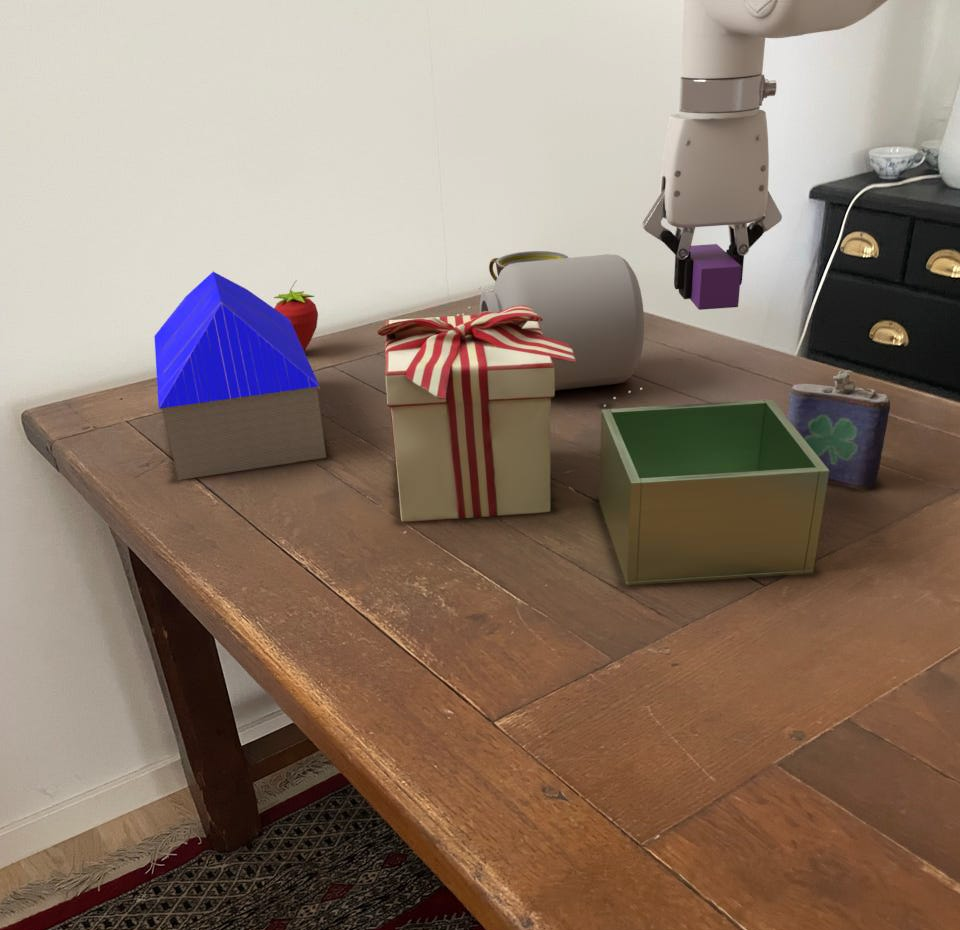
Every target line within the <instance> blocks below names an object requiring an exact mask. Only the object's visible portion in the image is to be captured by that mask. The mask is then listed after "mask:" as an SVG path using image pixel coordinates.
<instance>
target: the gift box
mask: <svg viewBox="0 0 960 930" xmlns="http://www.w3.org/2000/svg"><path fill="white" fill-rule="evenodd" d="M542 320H543V319H542V318H541V317H540V316H539V315H538V314H537V313H535V312H534V311H533V310H532V309H531V308H530V307H528V306H525V305H519V306H513V307H510V308H507V309H505V310H503V311H500V312H497V313H493V312H488V311H487V312H482V313H480V312H479V314H467V315H465V314H464V316H462V315H460V316H457V315H450V316H449V315H448V316H435V317H434V316H431V317H417V318H403V319H401V318H400V319H389V320H386V322H385V325H384V326H382V327H381V328H380V329H378V330H377V332H376V333H377V335H379V336H381V337H385V343H384V360H385V377H384V378H385V393H386V403H387V405H386V406H387V407H389V412H390V420H391V431H392V439H393V449H394V451H393V452H394V459H395V466H396V476H397V478H396V479H397V486H398V487H397V488H398V498H399V510H400V511H399V512H400V521H401V522H402V523H415V522H429V521H440V520H441V521H442V520H443V521H444V520H457V519H458V520H463V519H465V520H466V519H472V518H488V517H498V516H512V515H525V514H526V515H527V514H539V513H547V512H551V412H552V409H551V408H552V407H551V402H552V401H551V400H552V398H555V396H556V395H555V394H556V393H555V392H556V390H555V374H554V363H553V359H558V360H565V361H571V362H576V359H575V357H574V355H573V351H572V348H571V346H570V345H569V344H566V343H563V342H560V341H557V340H554V339H551V338H547V337H544V336H543V333H542V331H541V329H540V326H539V323H538V322H541V321H542Z"/></svg>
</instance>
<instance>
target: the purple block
mask: <svg viewBox="0 0 960 930" xmlns="http://www.w3.org/2000/svg"><path fill="white" fill-rule="evenodd" d="M690 252H691V256H690V257H691V258H692V259H693V276H692V293H691V298H690V299H689V300H690V301H691V302H692V304H693V305H694V306H695V308H697V310H698V311H702V310H703V311H704V310H716V309H732V308H733V309H734V308H738V307H739V302H740V291H741V285H740V279H741V265H739V264H738V263H737V262H736V261H735V260H734V259H733V258H732V257H730V256H729V255H728V254H727V253H726V250H724V249H723V248H722V247H721V246H719V245H718V243H713V244H712V243H710V244H698V245H695V244H694V245H691V247H690Z"/></svg>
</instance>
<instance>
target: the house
mask: <svg viewBox="0 0 960 930" xmlns="http://www.w3.org/2000/svg"><path fill="white" fill-rule="evenodd" d="M274 308H275V307H273V306H272V305H270V303H267V302H266V301H264V300H263V299H261V298H260V297H259V296H258V295H256V294H254V293H253V292H251V291H250V290H249V289H247V288H246V287H244V286H242V285H240V284H238V283H236V282H234V281H232V280H231V279H228V278H227V277H225V276H222V275H220V273H217V272H215V271H211V273H210V274H208V275H207V276H206V277H205V278H204V279H203V280H202V281H201V282H200V283H199V284H198V285H196V287H194V288H193V289H191V291H190V292H189V293H188V294H187V295H185V296H184V297H183V299H182V300H181V302H179V304H178V306H176V308H175V309H174V311H173V312H172V313H171V314H170V315H169V317H168V318H167V320H166V321H165V322H164V323H163V324H162V325H161V327H160V328H159V330H158V331H157V332H156V333H155V335H154V336H153V338H154V353H155V371H156V386H157V402H158V403H157V404H158V412H159V413H160V412H161V411H162V415H163V420H164V424H165V429H166V432H167V436H168V441H169V444H170V445H169V446H170V451H171V454H172V458H173V464H174V467H175V472H176V476H177V480H178V481H181V480H188V479H189V480H190V479H195V478H202V477H208V476H214V475H220V474H228V473H233V472H240V471H247V470H253V469H254V470H255V469H259V468H268V467H274V466H280V465H288V464H294V463H300V462H306V461H312V460H318V459H319V460H320V459H325V458H326V459H327V453H326V446H325V437H324V430H323V423H322V418H321V417H322V415H321V407H320V401H319V394H318V390H321V387H320V384H319V381H318V379H317V377H316V375H315V373H314V370H313V369H312V366H311V364H310V362H309V359H308V357H307V355H306V353H305V352H306V351H305V352H304V350H303V348H302V346H301V344H300V341H299V339H298V337H297V335H296V332H295V330H294V328H293V326H292V324H291V321H290V319H289V318H287V317H286V316H284V315H283V314H281V313H280V312H279V311H277V310H276V309H274Z"/></svg>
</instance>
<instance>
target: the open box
mask: <svg viewBox="0 0 960 930" xmlns="http://www.w3.org/2000/svg"><path fill="white" fill-rule="evenodd" d="M600 412H601V413H600V447H599V448H600V451H599V492H598V495H599V496H598V497H599V498H598V503H599V506H600V510H601V512H602V515H603V517H604V522H605V524H606V527H607V530H608V533H609V536H610V539H611V542H612V546H613V548H614V551H615V554H616V557H617V560H618V563H619V566H620V569H621V572H622V575H623V578H624V582H625V584H626V586H638V585H640V586H641V585H654V584H656V585H657V584H670V583H685V582H686V583H687V582H700V581H701V582H702V581H715V580H718V581H719V580H732V579H745V578H748V579H749V578H761V577H764V578H765V577H777V576H778V577H779V576H793V575H809V574H811V575H812V574H814V569H815V564H816V558H817V552H818V545H819V538H820V531H821V525H822V521H823V520H822V519H823V513H824V507H825V501H826V495H827V489H828V483H829V482H828V476H829V470H828V468H827V467H826V466H825V465H824V463H823V462H822V461H821V460H820V458H819V457H818V456H817V455H816V453H815V452H814V451H813V450H812V448H811V447H810V446H809V445H808V443H807V442H806V441H805V440H804V438H803V437H802V436H801V435H800V433H799V432H798V431H797V430H796V428H795V427H794V426H793V425H792V424H791V422H790V421H789V420H788V419H787V417H788V416H787V415H785V413H784V412H783V411H782V410H781V409H780V406H778V405H777V403H776V402H775V401H774V399H772V398H767V399H753V400H752V399H751V400H750V399H749V400H737V401H734V400H733V401H720V402H719V401H718V402H705V403H703V402H702V403H688V404H686V403H685V404H671V405H670V404H669V405H654V406H637V407H624V408H623V407H622V408H604V409H601V410H600Z"/></svg>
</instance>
